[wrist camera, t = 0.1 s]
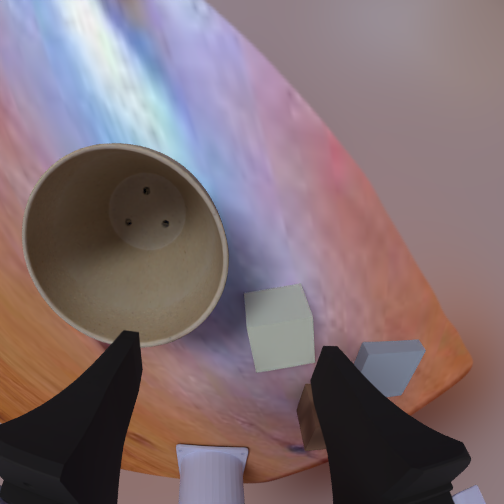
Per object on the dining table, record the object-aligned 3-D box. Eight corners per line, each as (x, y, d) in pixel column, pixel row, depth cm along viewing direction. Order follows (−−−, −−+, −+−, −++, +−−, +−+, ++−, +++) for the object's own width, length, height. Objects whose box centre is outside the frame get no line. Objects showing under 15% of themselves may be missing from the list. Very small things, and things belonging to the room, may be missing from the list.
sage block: (304, 326, 24) (314, 362, 21) (252, 335, 24) (256, 372, 21) (300, 282, 23) (312, 316, 19) (243, 292, 23) (246, 328, 19)
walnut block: (334, 407, 29) (346, 446, 25) (296, 409, 29) (304, 450, 24) (346, 381, 28) (361, 422, 23) (305, 383, 27) (316, 427, 23)
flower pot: (196, 298, 23) (186, 371, 16) (67, 249, 20) (17, 304, 14) (254, 165, 19) (268, 198, 12) (103, 109, 17) (42, 115, 10)
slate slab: (394, 381, 29) (401, 395, 27) (342, 386, 28) (347, 401, 27) (416, 336, 27) (425, 350, 25) (361, 339, 26) (368, 354, 24)
